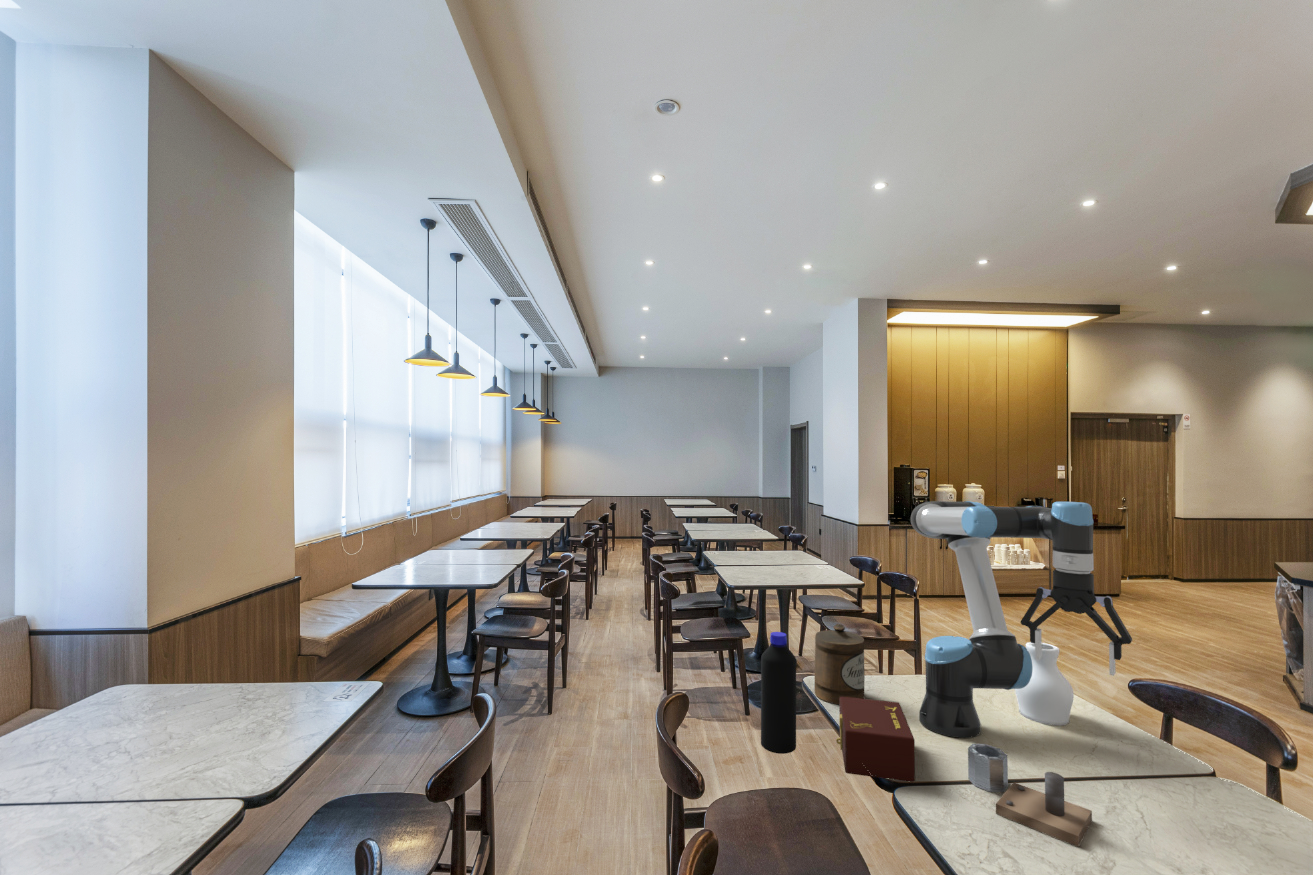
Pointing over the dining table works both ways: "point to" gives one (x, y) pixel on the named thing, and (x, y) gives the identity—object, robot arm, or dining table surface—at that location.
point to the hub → (988, 767)
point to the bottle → (778, 696)
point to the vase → (1046, 689)
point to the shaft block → (1046, 810)
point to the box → (876, 739)
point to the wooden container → (839, 664)
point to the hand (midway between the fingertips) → (1074, 665)
